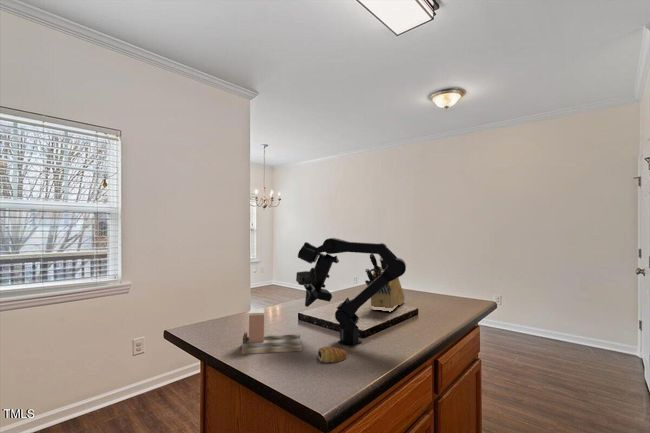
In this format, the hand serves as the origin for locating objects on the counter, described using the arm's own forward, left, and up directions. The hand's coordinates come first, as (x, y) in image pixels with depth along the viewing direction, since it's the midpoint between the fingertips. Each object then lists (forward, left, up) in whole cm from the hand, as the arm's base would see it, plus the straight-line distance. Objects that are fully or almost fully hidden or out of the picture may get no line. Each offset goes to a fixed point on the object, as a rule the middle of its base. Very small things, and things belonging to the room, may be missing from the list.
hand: (306, 306), depth 122 cm
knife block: (+6, -59, -12) cm, 61 cm away
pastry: (-19, +6, -13) cm, 24 cm away
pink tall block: (+5, +19, -10) cm, 22 cm away
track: (+2, +14, -12) cm, 19 cm away
